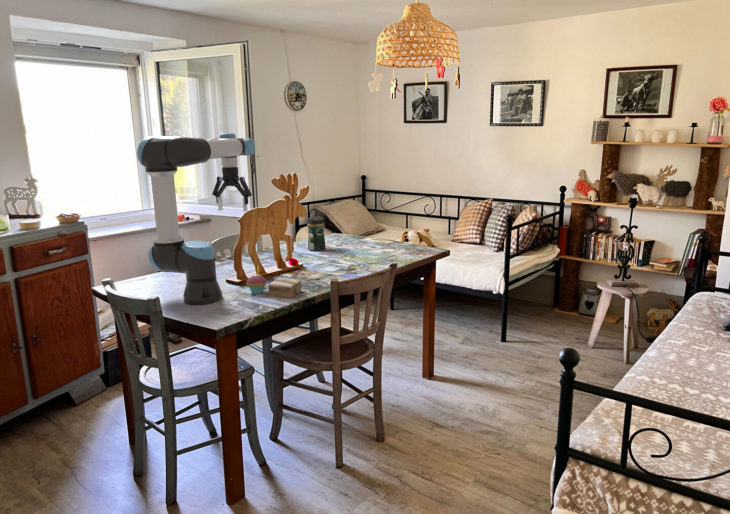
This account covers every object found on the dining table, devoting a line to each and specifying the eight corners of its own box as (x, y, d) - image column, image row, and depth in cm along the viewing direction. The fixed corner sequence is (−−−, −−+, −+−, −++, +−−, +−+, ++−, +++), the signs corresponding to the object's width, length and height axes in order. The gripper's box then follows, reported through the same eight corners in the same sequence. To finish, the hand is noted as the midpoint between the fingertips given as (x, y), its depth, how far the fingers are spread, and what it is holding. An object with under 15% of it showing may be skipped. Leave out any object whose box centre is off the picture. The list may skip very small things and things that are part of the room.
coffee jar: (318, 246, 311) (317, 214, 306) (327, 249, 305) (326, 216, 301) (305, 249, 304) (304, 217, 300) (314, 252, 299) (313, 218, 294)
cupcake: (254, 288, 235) (252, 261, 232) (271, 290, 232) (269, 263, 229) (242, 294, 227) (241, 266, 224) (260, 296, 224) (258, 268, 221)
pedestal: (291, 297, 221) (290, 286, 220) (269, 295, 224) (268, 284, 223) (301, 290, 231) (300, 279, 229) (279, 288, 234) (279, 277, 232)
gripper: (257, 166, 258) (259, 210, 264) (211, 165, 266) (214, 208, 271) (249, 167, 252) (252, 212, 257) (202, 166, 259) (206, 210, 264)
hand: (233, 210), depth 264 cm, fingers open, 13 cm apart
